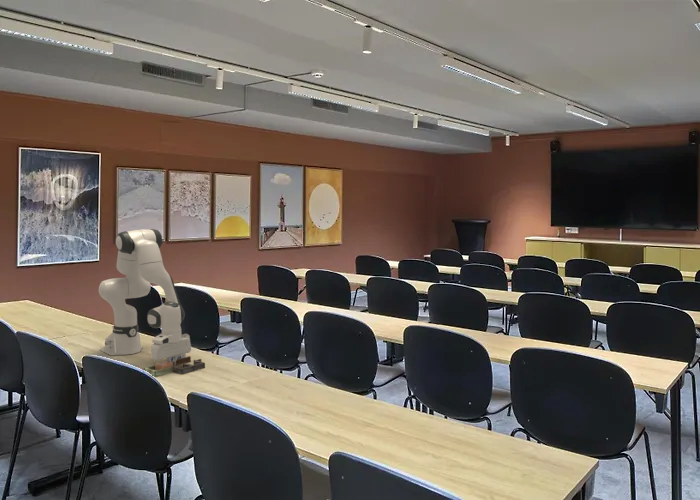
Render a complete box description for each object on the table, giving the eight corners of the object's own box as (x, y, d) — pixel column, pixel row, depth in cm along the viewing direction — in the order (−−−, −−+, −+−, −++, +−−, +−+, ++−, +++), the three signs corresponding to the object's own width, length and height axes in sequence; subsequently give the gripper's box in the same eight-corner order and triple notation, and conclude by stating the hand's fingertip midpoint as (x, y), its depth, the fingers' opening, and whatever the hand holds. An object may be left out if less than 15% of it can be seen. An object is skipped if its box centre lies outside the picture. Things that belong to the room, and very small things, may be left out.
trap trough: (143, 373, 266) (143, 368, 266) (189, 361, 287) (189, 356, 287) (164, 379, 257) (164, 373, 257) (209, 366, 278) (209, 361, 278)
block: (155, 372, 268) (155, 363, 267) (165, 369, 273) (165, 360, 272) (162, 374, 265) (162, 365, 265) (172, 370, 270) (172, 362, 270)
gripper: (185, 331, 282) (185, 359, 283) (149, 339, 265) (149, 369, 266) (193, 333, 278) (194, 361, 280) (157, 341, 262) (158, 371, 263)
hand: (172, 365), depth 273 cm, fingers closed
